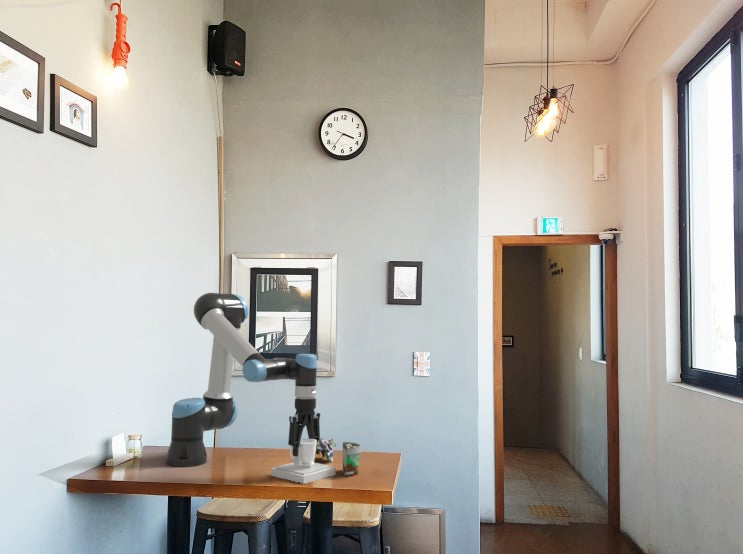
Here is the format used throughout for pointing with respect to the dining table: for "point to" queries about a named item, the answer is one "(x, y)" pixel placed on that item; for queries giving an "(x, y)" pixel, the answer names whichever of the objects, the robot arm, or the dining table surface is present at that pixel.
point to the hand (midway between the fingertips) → (303, 463)
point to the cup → (307, 451)
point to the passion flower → (325, 448)
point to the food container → (351, 458)
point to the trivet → (303, 472)
